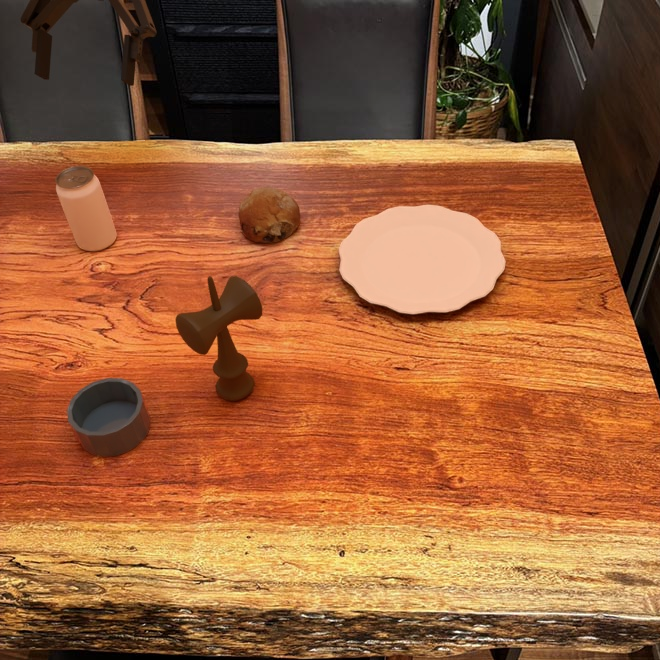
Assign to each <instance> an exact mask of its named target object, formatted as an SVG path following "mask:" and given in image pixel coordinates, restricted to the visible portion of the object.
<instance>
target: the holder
mask: <svg viewBox="0 0 660 660" xmlns="http://www.w3.org/2000/svg"><path fill="white" fill-rule="evenodd" d="M66 416H67V422H68V424H69V426H70V428H71V431H72V432H73V434H74V436H75V438H76V440H77V442H79V444H80V446H81V447H82V449H84V451H86V452H88V453H89V454H91V455H93V456H97V457H102V458H103V457H105V458H110V457H116V456H121V455H123V454H127V453H128V452H130V451H131V450H134V449H136V447H138V445H140V444H141V443H142V442H143V441H144V440H145V438H146V437H147V435H148V434H149V431H150V428H151V416H150V414H149V409H148V406H147V404H146V401H145V398H144V395H143V393H142V391H141V389H140V388H139V387H138V386H137V385H136V384H135V383H134V382H132V381H131V380H128V379H127V380H126V379H124V378H121V377H120V378H119V377H107V378H106V377H105V378H102V379H99V380H96V381H92V382H91V383H89V384H87V385H85V386H84V387H82V388H80V389H79V390H78V391H77V393H75V394H74V396H73V397H72V398H71V399H70V401H69V404H68V407H67V409H66Z"/></svg>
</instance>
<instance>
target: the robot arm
mask: <svg viewBox="0 0 660 660" xmlns="http://www.w3.org/2000/svg"><path fill="white" fill-rule="evenodd" d="M79 1H80V0H29V1H28V3H27V5H26V7H25V8H24V11H23V13H22V15H21V16H20V18H19V19H20V22H21V23H22V24H23V25H24V26H26V27H28V28H29V29H31V30H32V34H31V35H32V37H31V38H32V39H31V40H32V41H31V51H32V53H33V54H35V62H34V75H35V76H36V77H39V78H40V79H43V80H44V81H49V80H50V72H51V60H52V59H51V58H52V44H53V35H52V34H50V33H49V32H50V30H52V28H53V27H54V26H55V24H57V23H58V21H59V20H61V18H62V16H64V15H65V13H67V11H68V10H69V9H70V8H71V6H73V4H76V3H78V2H79ZM98 1H101V2H104V1H105V0H98ZM131 1H132V5H133V7H134V10H135V13H136V16H137V18H138V21H139V23H140V25H139V23H138V22H137V21H136V20H135V18H134V17H133V15H132V14H131V12H130V11H129V9H128V8H127V6H126V5H125V3H124V2H123V0H108V2H109V3H110V5H111V6H112V8H113V9H114V11H115V12H116V14H117V15H118V17H119V18H120V19H121V21H122V23H123V25H125V27H126V29H127V31H128V33H129V34H124V37H123V47H122V49H123V50H122V63H121V74H120V81H122V82H123V83H124V84H126V85H127V86H129V87H131V86H132V87H134V86H135V77H136V64H137V63H140V62H141V61H142V56H143V44H144V40H145V39H146V38H150V37H151V38H154V37H156V36H157V30H156V27H155V24H154V21H153V18H152V16H151V13H150V10H149V7H148V5H147V2H146V0H131Z"/></svg>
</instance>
